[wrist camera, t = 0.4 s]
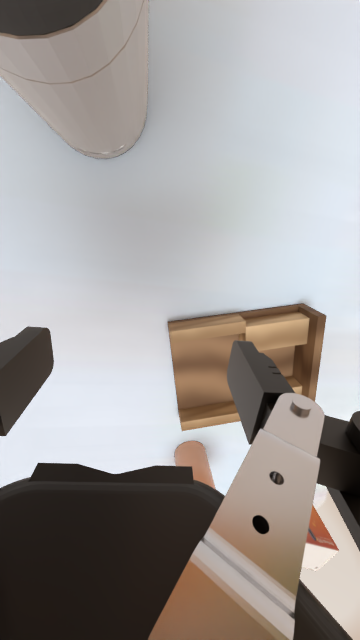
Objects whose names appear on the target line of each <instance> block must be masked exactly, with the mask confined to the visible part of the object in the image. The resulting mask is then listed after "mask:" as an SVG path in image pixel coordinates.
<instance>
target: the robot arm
mask: <svg viewBox="0 0 360 640" xmlns="http://www.w3.org/2000/svg"><path fill="white" fill-rule="evenodd" d="M148 27H149V0H0V76H1V77H2V78H3V79H4V80H5V81H6V82H7V83H8V84H9V85H10V86H11V87H12V88H13V89H14V90H15V91H16V92H17V93H18V94H19V95H20V96H21V97H22V98H23V99H24V100H25V101H26V102H27V103H28V104H29V106H30V107H31V108H32V109H33V110H34V111H35V112H36V113H37V114H38V115H39V116H40V117H41V118H42V119H43V120H44V121H45V122H46V123H47V124H48V125H49V126H50V127H51V128H52V129H53V130H54V131H55V132H56V133H57V134H58V135H59V136H60V137H61V138H62V139H63V140H64V141H65V142H66V143H67V144H69V145H70V146H71V147H72V148H74V149H75V150H76V151H78V152H80V153H82V154H84V155H86V156H90V157H93V158H101V159H108V158H112V157H117V156H119V155H121V154H123V153H125V152H126V151H127V150H129V149H130V148H131V147H132V146H133V145H134V144H135V142H136V141H137V140H138V138H139V137H140V135H141V133H142V130H143V128H144V125H145V121H146V116H147V94H148ZM53 363H54V360H53V351H52V343H51V335H50V331H49V329H48V328H41V327H26V328H25V329H24V330H23V331H21V332H20V333H19V334H18V335H16V336H15V337H12V338H10V339H8V340H5V341H3V342H1V343H0V436H6V435H7V433H8V432H9V431H10V429H11V428H12V426H13V425H14V424H15V422H16V421H17V420H18V418H19V417H20V415H21V414H22V413H23V411H24V410H25V409H26V407H27V406H28V404H29V403H30V402H31V400H32V399H33V397H34V396H35V395H36V393H37V392H38V391H39V389H40V388H41V386H42V385H43V384H44V382H45V381H46V379H47V378H48V377H49V375H50V374H51V372H52V369H53ZM227 382H228V386H229V389H230V391H231V394H232V397H233V400H234V403H235V406H236V408H237V411H238V414H239V417H240V420H241V423H242V426H243V428H244V431H245V434H246V437H247V440H248V443H249V444H252V445H251V447H250V449H249V451H248V453H247V455H246V457H245V459H244V461H243V463H242V465H241V467H240V468H239V470H238V472H237V474H236V476H235V478H234V480H233V482H232V484H231V486H230V488H229V490H228V492H227V494H226V496H224V495H223V494H221V493H220V492H219V491H217V490H216V489H214V488H212V487H211V486H209V485H207V484H205V483H202V482H200V481H197V480H194V479H193V469H192V466H152V467H147V468H143V469H138V470H134V471H130V472H125V473H121V474H111V473H107V472H104V471H100V470H97V469H93V468H90V467H86V466H83V465H80V464H62V463H38V464H37V466H36V468H35V470H34V472H33V474H32V476H31V477H29V478H25V479H22V480H19V481H16V482H13V483H11V484H9V485H6V486H4V487H2V488H0V640H353V639H352V638H351V637H350V636H349V635H348V634H347V632H346V631H345V630H344V629H343V628H342V627H341V626H340V624H339V623H338V622H337V621H336V620H335V619H334V618H333V617H332V615H331V614H330V613H329V612H328V611H327V610H326V609H325V608H324V606H323V605H322V604H321V603H320V602H319V601H318V600H317V599H316V597H315V596H314V595H313V594H312V593H311V592H310V590H309V589H308V588H307V587H306V586H305V585H304V584H303V583H302V582H301V580H300V579H299V578H300V572H301V567H302V561H303V556H304V550H305V544H306V539H307V533H308V528H309V522H310V516H311V511H312V505H313V500H314V494H315V488H316V483H318V484H321V485H324V486H326V487H327V489H328V491H329V493H330V495H331V497H332V499H333V501H334V502H335V504H336V506H337V508H338V510H339V512H340V514H341V516H342V518H343V520H344V522H345V523H346V525H347V528H348V529H349V531H350V533H351V535H352V537H353V539H354V541H355V543H356V545H357V547H358V549H359V551H360V411H357V412H355V413H354V414H353V415H352V417H351V419H350V421H349V422H348V421H344V420H340V419H337V418H333V417H329V416H326V415H324V412H323V410H322V409H321V407H320V406H319V405H318V404H317V403H315V402H314V401H313V400H311V399H309V398H307V397H305V396H303V395H300V394H296V393H295V392H294V390H293V389H292V387H291V386H290V385H289V383H288V382H287V380H286V379H285V377H284V376H283V375H281V372H280V370H279V369H278V368H277V366H276V365H275V363H274V362H273V360H272V359H271V358H269V357H268V356H266V355H265V354H264V353H259V352H258V350H257V349H256V347H255V346H254V344H253V343H252V342H251V341H238V340H235V341H234V342H233V344H232V349H231V354H230V359H229V364H228V369H227Z"/></svg>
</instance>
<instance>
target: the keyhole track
mask: <svg viewBox="0 0 360 640" xmlns="http://www.w3.org/2000/svg"><path fill="white" fill-rule="evenodd" d="M325 322H326V315H324V314H322V313H320V312H318V311H316V310H315V309H313V308H311V307H309V306H307V305H305V304H296V305H289V306H281V307H274V308H267V309H259V310H252V311H245V312H237V313H230V314H222V315H215V316H208V317H200V318H193V319H185V320H178V321H171V322H168V328H169V336H170V344H171V353H172V361H173V369H174V377H175V385H176V394H177V402H178V410H179V417H180V423H181V429H182V431H185V430H191V429H197V428H203V427H208V426H214V425H220V424H226V423H232V422H237V421H241V420H240V417H239V414H238V411H237V408H236V406H235V403H234V400H233V397H232V394H231V391H230V389H229V386H228V382H227V369H228V364H229V359H230V354H231V349H232V344H233V342H234V341H235V340H238V341H251V342H252V343H253V344H254V346H255V347H256V349H257V350H258V352H259V353H264V354H265V355H266V356H268V357H269V358H271V359H272V360H273V362H274V363H275V365H276V366H277V368H278V369H279V370H280V372H281V375H283V376H284V377H285V379H286V380H287V382H288V383H289V385H290V386H291V387H292V389H293V390H294V392H295V393H296V394H300V395H303V396H305V397H307V398H309V399H311V400H313V401H314V402H315V397H316V389H317V382H318V374H319V367H320V359H321V352H322V344H323V337H324V329H325Z"/></svg>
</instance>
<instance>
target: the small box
mask: <svg viewBox="0 0 360 640" xmlns="http://www.w3.org/2000/svg"><path fill="white" fill-rule="evenodd" d="M338 552H339V549H338V548H337V546H336V544H335V543H334V541H333V539H332V537H331V536H330V534H329V532H328V530H327V529H326V527H325V525H324V524H323V522H322V520H321V518H320V516H319V515H318V513H317V512H316V510H315V508H314V506H313V505H312V511H311V516H310V522H309V528H308V533H307V539H306V544H305V550H304V556H303V561H302V567H301V568H305V569H310V570H313V571H317V570H318V569H319V568H321V567H322V566H323V565H324V564H325V563H326V562H328V561H329V560H330V559H331V558H332V557H333V556H334V555H335V554H336V553H338Z"/></svg>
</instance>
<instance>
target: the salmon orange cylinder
mask: <svg viewBox="0 0 360 640" xmlns="http://www.w3.org/2000/svg"><path fill="white" fill-rule="evenodd" d="M175 463H176V466H192V469H193V479H194V480H197V481H200V482H202V483H205V484H207V485H209V486H211V487H212V488H214V489H215V485H214V481H213V477H212V474H211V470H210V466H209V462H208V458H207V454H206V451H205V447H204V446H203V444H201V443H200V442H197V441H187V442H184V443H182V444H181V445H179V446H178V447H177V448H176V450H175Z"/></svg>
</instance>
